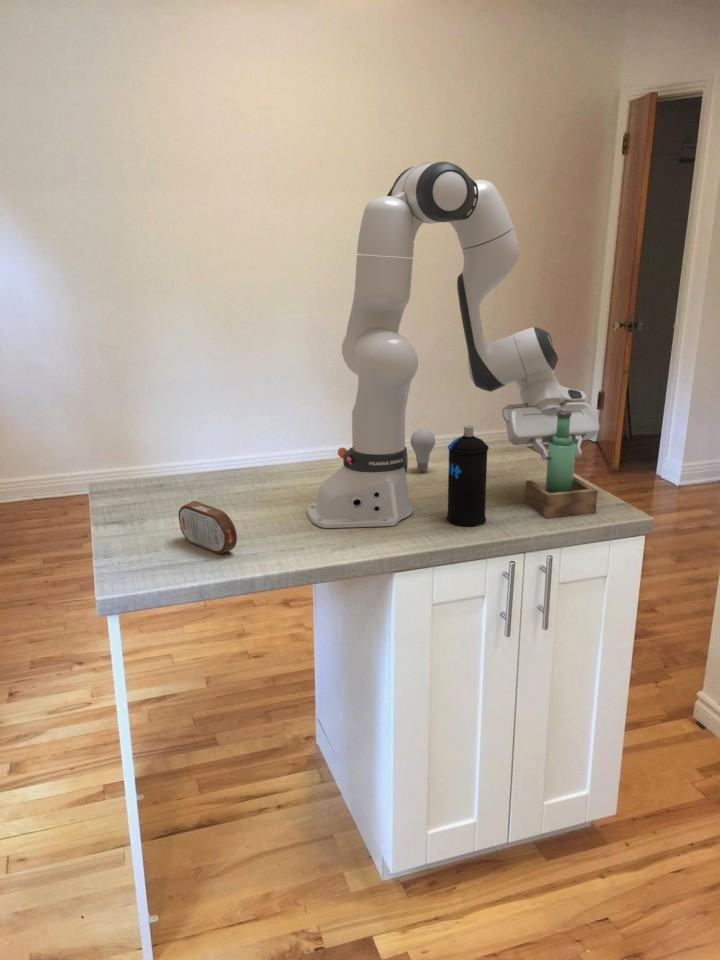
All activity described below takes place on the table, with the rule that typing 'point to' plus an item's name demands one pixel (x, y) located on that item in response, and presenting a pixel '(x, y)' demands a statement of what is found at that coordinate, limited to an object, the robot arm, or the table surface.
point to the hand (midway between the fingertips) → (562, 457)
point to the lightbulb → (422, 447)
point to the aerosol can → (467, 480)
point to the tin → (207, 527)
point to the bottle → (561, 457)
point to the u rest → (562, 500)
